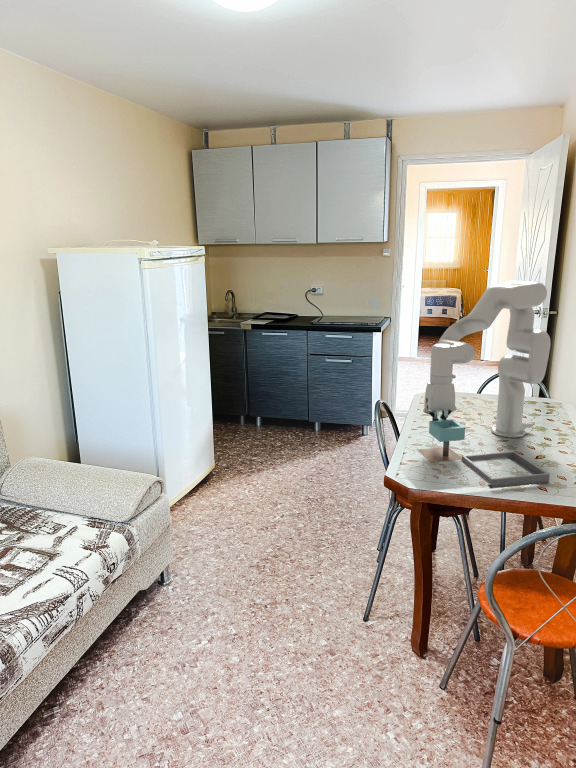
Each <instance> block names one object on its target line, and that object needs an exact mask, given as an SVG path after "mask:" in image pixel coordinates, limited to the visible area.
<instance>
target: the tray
mask: <svg viewBox="0 0 576 768" xmlns="http://www.w3.org/2000/svg"><path fill="white" fill-rule="evenodd" d="M461 458H462V460H461V461H463V462H464V463H465V464H466V465H468V466H469V467H470V468H471V469H472V470H474V471H475V472H476V473H477V474H478V475H479V476H481V477H482V478H484V479H485V480H486V482H488V483H490V484H487V486H488V487H489V488H490V489H498V488H500V489H501V488H509V487H519V486H530V485H529V484H531V485H538V484H539V483H542V484H549V483H550V477H551V476H550V475H551V474H550V473H549V472H547V471H546V470H544V469H543V468H541V467H540V466H538V465H536V464H535V463H534V462H532V461H530V460H529V459H527V458H526V457H524V456H522V455H521V454H519V453H518V452H516V451H513V450H512V451H503V452H489V453H478V454H467V455H461ZM500 458H507V459H509V460H510V461H512V462H513V463H515V464H516V465H518V466H519V467H520V468H522V469H524V470H525V471H526V472H528V473H529V474H524V475H522V474H521V475H514V476H513V475H511V476H503V477H500V476H499V477H493V476H492V475H490V474H488V472H486V471H485V470H484V469H482V468H481V467H480V466H478V465H477V464H476V463H474V462H473V461H475V460H477V461H478V460H487V459H500Z"/></svg>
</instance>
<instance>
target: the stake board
mask: <svg viewBox="0 0 576 768" xmlns="http://www.w3.org/2000/svg"><path fill="white" fill-rule="evenodd" d="M451 427H453V426H451ZM441 428H450V427H447V426H446V427H441ZM417 451H418V452H419V453H420V454H421V455H422V456H423V457H425V459H426V460H428V461H429V462H430V463H437V462H438V463H440V462H451V461H452V462H453V461H460V460H461V461H462V456H460V455H459V454H458V453H457V452H455V451H454V450H452V448H450V441H445V442H442V447H431V448H429V447H428V448H419V449H417Z"/></svg>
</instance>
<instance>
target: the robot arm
mask: <svg viewBox="0 0 576 768" xmlns="http://www.w3.org/2000/svg"><path fill="white" fill-rule="evenodd" d="M547 296H548V289H547V287H546V286H545V284H544V283H542V282H540V281H539V282H538V281H525V280H508V281H506V282H503V283H502V284H500V283H499V284H498V283H496V284H492V285H490V286H489V287H487V288H486V290H485V291H484V292H483V294H482V295H481V297H480V298H479V299H478V301H477V303H476V304H475V306H474V307H473V308H472V310H471V311H470V313H468V314H467V315H466V316H463V317H462V318H460V319H459V320H458V321H456V322H454V323H453V324H451V325H450V326H448V328H446V330H445V331H444V332H443V334H442V335H441V337H440V338H439V340H438V342H437V343H435V344H433V345H432V346H431V350H430V369H429V370H430V372H429V373H430V374H429V381H428V382H427V384H426V387H425V392H424V399H423V401H424V403H423V405H424V406H423V409H422V411H423V413H425V414H427V415H429V416H431V418H432V420H431V421H437V420H439V419H438V417H437V416H439V417H441V418H442V419H443V420H447V419H449V416H450V414H452V413H454V412H455V411H457V407H456V390H455V385H454V384H455V383H454V382H453V380H454V379H456V374H454V373H453V369H454V368H453V365H455V364H457V365H458V364H461V365H463V364H468V363H471V361H473V360H474V358H475V355H476V349H475V347H474V346H473V345H472V344H470V343H468V342H464V341H460V340H461V339H462V338H464V337H465V336H468V335H470V334H474V333H477V332H481V331H484V330H487V329H489V328H490V327H491V326H492V324H493V323H494V321H495V320H496V319H497V317H498V315H499V314H500V313H501V311H502V310H503V309H506V310H509V314H510V315H509V322H508V330H507V335H506V347H507V349H508V350H510V351H513V352H516V353H521V354H526V355H528V357H526V356H522V355H517V354H506V355H504V356H502V357H501V358H500V360H499V361H498V364H497V373H498V397H497V398H498V399H497V408H496V409H497V411H496V420H495V425H494V426H492V427H491V430H490V431H491V433H493V434H494V435H496V436H499V437H504V438H515V439H516V438H521V437H524V436H525V435H526V430H525V429H530V428H531V429H532V428H533V427H534V423H533V422H526V421H523V418H524V417H523V416H524V415H523V414H524V405H525V398H526V397H525V396H526V395H525V394H526V391H525V390H526V389H525V388H526V387H525V385H524V383H526V384H530V385H539V384H540V383H541V382H543V380H544V378H545V375H546V371H547V367H548V361H549V355H550V351H551V337H550V335H549V334H548V332H546V331H545V330H541V329H538V328H537V329H535V328H534V325H535V324H534V323H535V311H534V308H535V307H538V306H540V305H541V304H543V303H544V302H545V301H546V299H547ZM438 411H441V415H438V413H439V412H438Z"/></svg>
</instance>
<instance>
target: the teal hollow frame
mask: <svg viewBox="0 0 576 768" xmlns="http://www.w3.org/2000/svg"><path fill="white" fill-rule="evenodd" d="M437 417H438V419H439V420H437V421H432V420H429V422H428V423H429V425H428V426H429V429H428V433H429V434H430V436H432V437H433V438H434V439H436V440H437V441H438V442H439V443H443V442H445V441H449V442H453V441H454V442H455V441H464V440H465V437H466V436H465V435H466V426H464V425H462V423H459V422H458V421H457V420H455V419H454V418H447V419H446V420H443V419H442V418H441V417H440V415H438V416H437ZM446 426H447V427H450V428H441V427H446ZM451 426H453V427H451Z"/></svg>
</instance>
